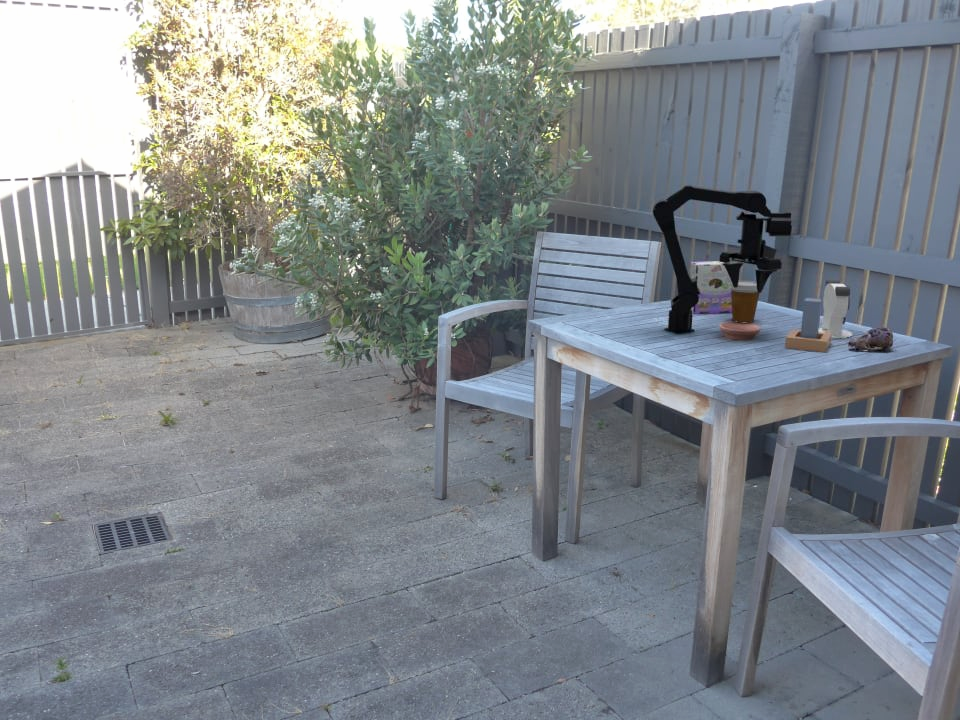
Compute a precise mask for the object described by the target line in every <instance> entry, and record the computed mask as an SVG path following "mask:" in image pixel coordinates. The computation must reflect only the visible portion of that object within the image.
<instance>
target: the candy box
mask: <svg viewBox="0 0 960 720" xmlns="http://www.w3.org/2000/svg"><path fill="white" fill-rule="evenodd" d="M722 263H724V262H719V260H716V261H712V260H711V261H709V260H708V261H691V263H690V273H689V276H690V277H691V279H693V278H696V280H697V287H698V288H699V289H700V294H698V295H699V301H698V303H697V304H696V305H695V306H694V307H692V308H691V310H692V315H700V314H701V315H703V314H704V315H705V314H707V315H709V314H730V313H731V314H732V299H731V288H730V286H731V283H732V282H731V279H730V276H729V274H728V272H727V270H726V268H725V266H724V265H722Z"/></svg>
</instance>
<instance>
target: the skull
mask: <svg viewBox="0 0 960 720" xmlns="http://www.w3.org/2000/svg"><path fill="white" fill-rule="evenodd" d="M847 343H848V344H847V345H848V348H849V347H850V348H854V349H853V351H854V350H855V351H856V350H857V349H858V351H859V350H869V351H868V352H871V351H876V350H879V351H881V350H886V351H887V350H890V348H892V347H893V345H894V333H893V331H892V329H890V328H889V327H873V328H871V329H869V330H867V331H866V332H865V333H864V334H862V335H861V336H860V337H857V338H854V339H850V340H849V341H848V342H847ZM872 347H873V348H872Z"/></svg>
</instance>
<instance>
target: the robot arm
mask: <svg viewBox="0 0 960 720" xmlns="http://www.w3.org/2000/svg"><path fill="white" fill-rule="evenodd" d="M691 200H692V201H698V202H699V201H700V202H706V203H713V204H721V205H727V206H732V207H735V208H738V209H740V210H741V211H740V212H739V214H737V215H736V216H735V219H736V220H737V221H742V223H741V237H740V238H738V239H737V243H738V244H740V249H739V251H735V250H731V251H729V250H728V251H722V252H721V254H719V260H718V261H719V262H724V263H722V265H724V266H725V268H726V270H727V272H728V274H729V276H730V279H731V282H732V284H733V286H734V288H737V287H738V282H739V281H740V280H739V279H740V272H741V268H742V266H743V265H744V264H750V265H754V266H756V268H757V269H755V282H756V283H757V291H758V293H760V294H761V293H762V292H763V290H764V288H765V286H766V284H767V281H768V279H769V277H770V276H771V275H772V274H773V273H775V272H777V271H778V270H782V260H781V259H780V258H776V257H775V256H776V253H777V251H778V250H777V249H776V248H774V247H772V246H768V245H766V243H767V242H766V239H763V233H766V234H767V236H768V237H778V238H779V237H780V238H781V237H783V238H785V237H786V238H790V237H791V234H792V229H793V224H792V213H791V212H789V211H785V212H771V209H770V208H768V206H767V199H766V196H765V195H764V194H763V193H762V192H760V191H758V190H741V191H740V190H737V191H730V190H722V189H715V188H707V187H701V186H694V185H691V184H686V185H683V186H682V188H681V189H679V190H678V191H676V192H674V193H673V194H672V195H670V196H669V197H667V198H666V199H659V200H657V201H656V202H655V203H654V205H653V207H652V208H653V209H652V215H653V217H654V219H655V221H656V223H657V225H658V227H659V228H660V230H661V233H662V235H663V237H664V241H665V245H666V248H667V252H668V255H669V259H670V260H671V265H672V268H673V272H674V273H675V278H676V285H677V286H676V287H677V295H676V296H675V297H674V298H672V299H671V300H670V308H671V309H670V310H668V321H667V324H668V326H667V327H664V331H667V332H671V333H675V334H678V335H679V334H681V335H682V334H686V333H691V332H693V333H695V329H694V328H692V327H693V315H694V314H693V313H692V310H691V308H692V307H694V306H695V305H696V304H697V303H698V301H699V295H698V294H700V289H699V288H698V287H697V280H696V278H693V279H691V277H690V273H689V271H688V269H687V265H686V262H685V261H686V260H685V258H684V254H683V251H682V247H681V243H680V239H679V238H678V233H677V231H676V221H675V211H677V210H678V209H679V208H681V207H682V206H683V205H684V204H686V203H687V202H689V201H691ZM743 210H744V211H747V212H750V213H745V212H744V211H743ZM757 214H760V215H761V217H757ZM764 221H765V222H764ZM763 231H764V232H763Z"/></svg>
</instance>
